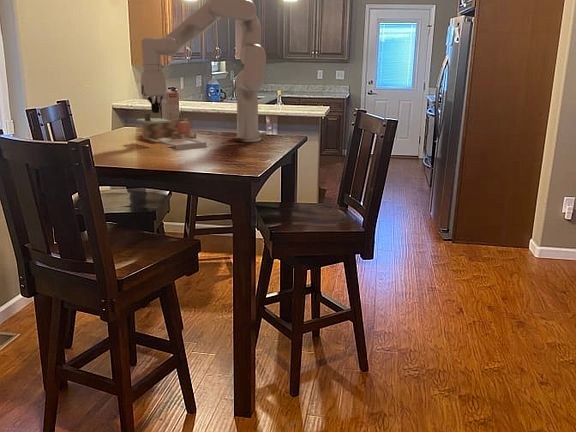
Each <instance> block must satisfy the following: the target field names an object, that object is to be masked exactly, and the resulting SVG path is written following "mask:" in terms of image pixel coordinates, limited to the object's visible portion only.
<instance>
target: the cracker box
mask: <svg viewBox="0 0 576 432" xmlns="http://www.w3.org/2000/svg"><path fill="white" fill-rule="evenodd" d="M179 95H180V94H179V91H173V90H166V96H167V97H166V98H164V99H162V100H161V114H162V115H161V117H162V118H161V119H166V120H172V119H180V99H179V98H180V96H179Z"/></svg>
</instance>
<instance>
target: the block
mask: <svg viewBox="0 0 576 432" xmlns="http://www.w3.org/2000/svg"><path fill="white" fill-rule="evenodd" d="M177 123H178V134H190V132H191V122H190V121H188V122H186V121H183V122H177Z"/></svg>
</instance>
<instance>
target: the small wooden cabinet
mask: <svg viewBox="0 0 576 432" xmlns="http://www.w3.org/2000/svg"><path fill="white" fill-rule="evenodd" d="M183 121H186V122H189V121H188V118H179V119H172V120H171V123H154V124H148V123H144V122H141V129H142V139H145V140H149V141H151V142H155V143H158V142H161V141H164V140H176V139H188V138H190V139H195V140H196V139H200V137H198V136H197V133H195V132H191V131H190V134H178V123H177V122H183ZM143 143H145V141H143ZM149 144H151V145H152V143H150V142H149Z"/></svg>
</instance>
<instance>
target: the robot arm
mask: <svg viewBox="0 0 576 432" xmlns="http://www.w3.org/2000/svg"><path fill="white" fill-rule="evenodd" d="M221 18H222V19H227V20H228V19H229V20H236V21H237V22H238V23H239V25H240V28H241V44H240V52H239V59H240V61H241V63H242V64H243V69H242V70H241V71H239V72H238V74H237V75H236V78H235V90H236V91H235V93H236V136H234V138H236V139H240V140H237V142H239V143H257V142H261V141H262V137H261V136H266V135H267V131H265V130H262V131H261V130H259V95H258V94H259V93H258V92H259V91H260V90H261V89H262V87H263V85H264V83H265V82H264V81H265V74H266V73H265V72H266V66H267V65H266V64H267V54H266V51H265V49H264V47H263V46H262V25H261V21H260V19H259V17H258V15H257V6H256V5H255V3H254V2H253V1H252V0H208V1H206V2H205V3H204V4H202V5H201V6H200V7H199V8H197V10H195V11H194V12H193V13H191V14H190V15H189V16H187V18H186V19H185V20H184V21H182V22H181V23H180V24H178V26H177V27H175V28H174V29H173V30H171V32H169V33H167V35H166V36H164V37H163V38H162V37H161V38H157V37H144V38H142V39H141V43H140V44H141V56H142V69H143V71H142V72H141V75H140V95H142V99H143V100H147V101H148V102H149V104H150V107H151V108H150V109H151V111H152V114H153V113H154V114H159V113H160V110H161V109H160V104H161V102H162V99H164V98H166V97H167V96H166V91H167V82H166V79H165V78H166V77H165V74H164V71H163V70H164V69H165V65H163V64H162V57H161V56H165V57H173V56H175V55H177V53H179V51H180V49H181V48H182V47H183V46H185V45H186V44H187V43H189V42H190V41H192V40H193V39H196V38H197V37H199V36H201V35H202V34H204V33H205V32H206V31H207V30H208V29H210V28H211V27H212V26H214V25H215V23H217V22H218V21H220V19H221Z"/></svg>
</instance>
